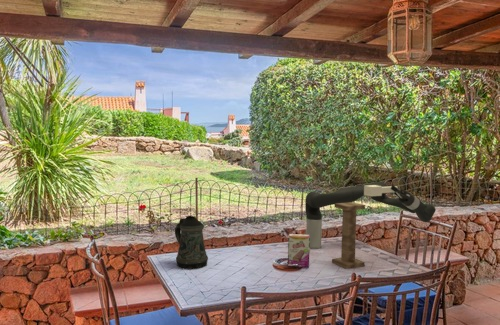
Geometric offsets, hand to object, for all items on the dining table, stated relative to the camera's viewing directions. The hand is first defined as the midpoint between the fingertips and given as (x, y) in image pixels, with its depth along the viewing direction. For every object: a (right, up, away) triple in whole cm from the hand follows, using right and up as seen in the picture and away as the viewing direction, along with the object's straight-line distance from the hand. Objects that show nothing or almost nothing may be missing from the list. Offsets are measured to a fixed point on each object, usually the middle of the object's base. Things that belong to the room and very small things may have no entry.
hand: (389, 186), depth 244 cm
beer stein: (-108, -40, -12) cm, 116 cm away
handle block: (-5, -4, -2) cm, 7 cm away
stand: (-25, -40, -9) cm, 48 cm away
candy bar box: (-52, -41, -13) cm, 67 cm away
